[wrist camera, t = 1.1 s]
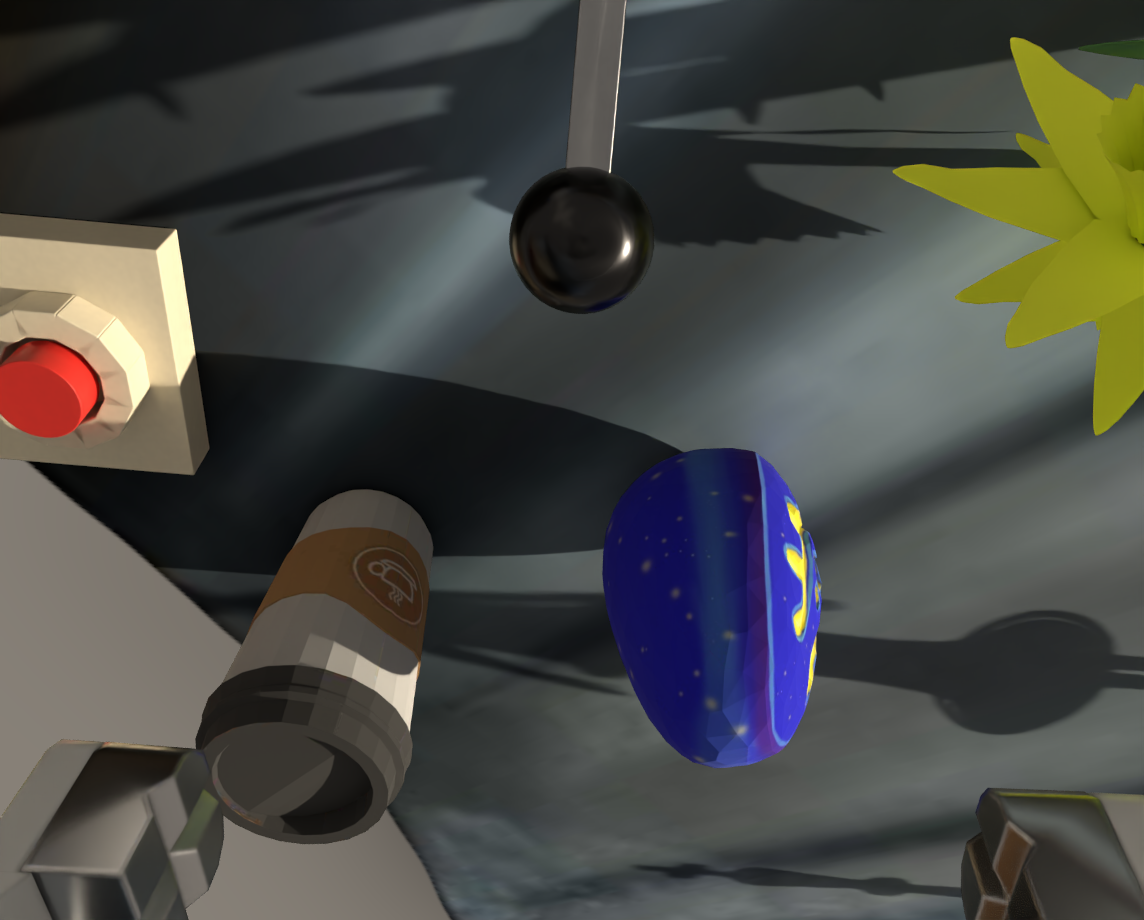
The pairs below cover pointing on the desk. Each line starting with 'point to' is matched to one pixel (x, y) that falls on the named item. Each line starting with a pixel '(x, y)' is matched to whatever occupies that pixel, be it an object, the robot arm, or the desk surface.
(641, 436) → the desk surface
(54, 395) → the button
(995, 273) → the daffodil flowers
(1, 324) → the block
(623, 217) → the lever
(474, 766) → the desk surface
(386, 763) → the coffee cup
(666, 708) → the ornament
